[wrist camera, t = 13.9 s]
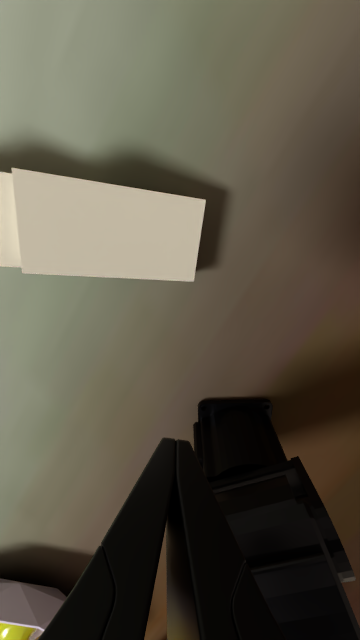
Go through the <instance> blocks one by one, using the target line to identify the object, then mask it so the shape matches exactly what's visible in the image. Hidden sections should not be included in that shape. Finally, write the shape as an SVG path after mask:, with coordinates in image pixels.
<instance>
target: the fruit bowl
mask: <svg viewBox="0 0 360 640" xmlns="http://www.w3.org/2000/svg"><path fill="white" fill-rule="evenodd" d="M66 598H67V597H66V596H65V595H64V594H63V593H62V592H61V591H60V590H59V589H57V588H52V587H46V586H41V585H35V584H29V583H23V582H18V581H12V580H6V579H0V640H38V638H39V637H40V636H41V634H42V633H43V631H44V630H45V629H46V627H47V626H48V624H49V623H50V622H51V620H52V619H53V617H54V616H55V614H56V613H57V611H58V610H59V609H60V607H61V606H62V604H63V603H64V601H65V600H66Z"/></svg>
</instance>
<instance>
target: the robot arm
mask: <svg viewBox="0 0 360 640" xmlns="http://www.w3.org/2000/svg"><path fill="white" fill-rule="evenodd" d="M265 405H267V406H265ZM203 406H205V408H202V407H203ZM271 416H272V404H271V402H270V400H267V399H260V400H221V401H201V402H199V404H198V422H195V423H194V425H193V428H194V450H193V448H192V446H191V444H190V442H189V441H186V440H179V439H178V440H176V441H175V439H171V438H163V439H162V440H161V441H160V443H159V445H158V447H157V448H156V450H155V452H154V453H153V455H152V457H151V458H150V460H149V462H148V464H147V465H146V467H145V469H144V470H143V472H142V474H141V476H140V477H139V479H138V481H137V482H136V484H135V486H134V487H133V489H132V491H131V493H130V494H129V496H128V498H127V499H126V501H125V503H124V505H123V506H122V508H121V510H120V511H119V513H118V515H117V516H116V518H115V520H114V522H113V523H112V525H111V527H110V528H109V530H108V532H107V534H106V535H105V537H104V539H103V540H102V542H101V546H99V547H98V549H97V550H96V552H95V554H94V555H93V557H92V559H91V560H90V562H89V564H88V565H87V567H86V569H85V570H84V572H83V573H82V575H81V577H80V578H79V580H78V581H77V583H76V585H75V586H74V588H73V590H72V591H71V592H70V594H69V595H68V597H67V598H66V600H65V601H64V603H63V604H62V606H61V607H60V609H59V610H58V611H57V613H56V614H55V616H54V617H53V619H52V620H51V622H50V623H49V624H48V626H47V627H46V629H45V630H44V631H43V633H42V634H41V636H40V637H39V638H38V640H144V637H145V631H146V626H147V621H148V616H149V610H150V605H151V600H152V595H153V590H154V584H155V579H156V574H157V569H158V563H159V558H160V553H161V548H162V543H163V537H164V532H165V527H166V562H167V640H360V628H359V625H358V623H357V620H356V618H355V615H354V613H353V610H352V608H351V606H350V603H349V601H348V598H347V596H346V593H345V591H344V588H343V586H342V584H341V582H349V581H354V580H356V579H355V576H354V573H353V570H352V568H351V565H350V563H349V560H348V558H347V555H346V553H345V550H344V548H343V546H342V544H341V541H340V539H339V537H338V534H337V532H336V530H335V528H334V526H333V523H332V521H331V519H330V517H329V515H328V513H327V511H326V509H325V507H324V505H323V503H322V501H321V499H320V497H319V495H318V493H317V491H316V489H315V487H314V485H313V483H312V482H311V480H310V478H309V476H308V474H307V472H306V470H305V468H304V466H303V464H302V462H301V460H300V459H299V457H298V456H297V457H294V458H291V460H289V461H287V458H286V456H285V454H284V451H283V449H282V446H281V444H280V442H279V439H278V437H277V435H276V432H275V430H274V427H273V425H272V423H271Z"/></svg>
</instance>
